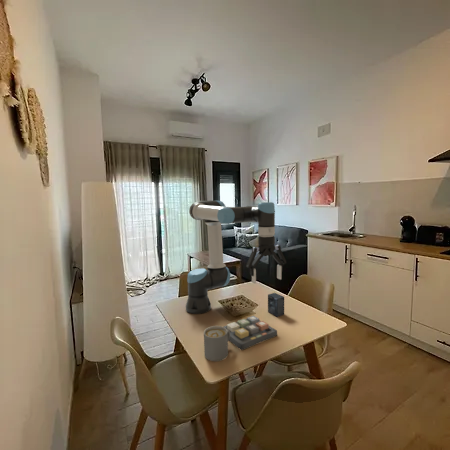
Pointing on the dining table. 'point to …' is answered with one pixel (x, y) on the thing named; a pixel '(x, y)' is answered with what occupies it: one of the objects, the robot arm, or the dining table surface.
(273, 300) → the box
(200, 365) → the dining table surface
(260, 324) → the key terracotta
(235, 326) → the key cream
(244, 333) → the key ochre
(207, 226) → the robot arm
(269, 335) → the keypad board
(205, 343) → the coffee mug
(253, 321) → the key slate
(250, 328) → the key charcoal
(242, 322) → the key sage
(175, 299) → the dining table surface
